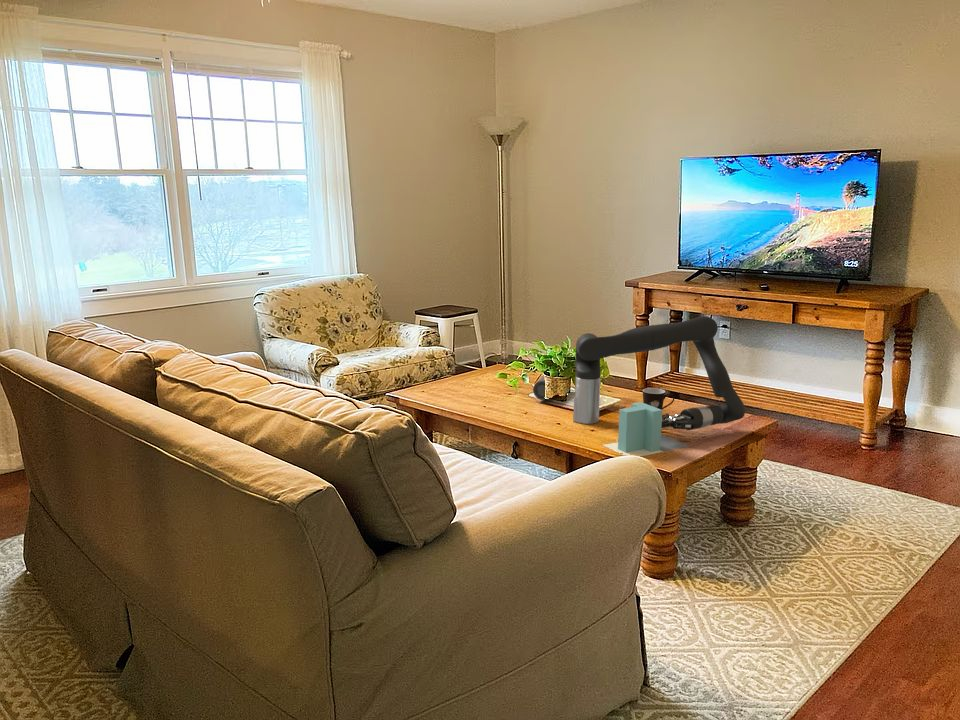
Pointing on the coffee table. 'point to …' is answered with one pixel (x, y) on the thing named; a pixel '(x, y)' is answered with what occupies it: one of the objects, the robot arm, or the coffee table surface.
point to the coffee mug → (655, 397)
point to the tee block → (639, 428)
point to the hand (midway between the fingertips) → (658, 424)
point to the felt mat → (665, 445)
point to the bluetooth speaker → (539, 389)
